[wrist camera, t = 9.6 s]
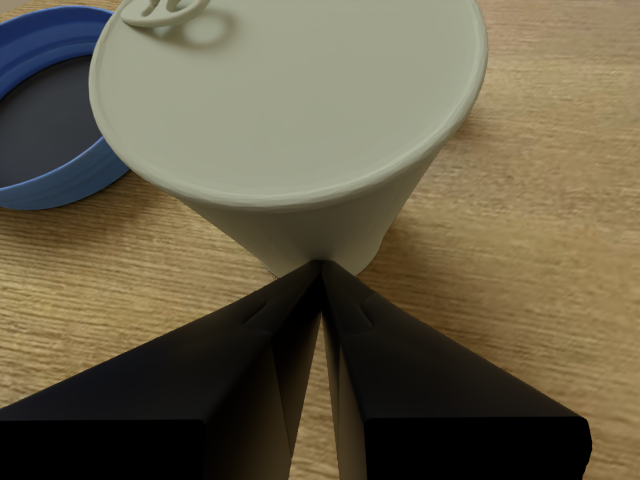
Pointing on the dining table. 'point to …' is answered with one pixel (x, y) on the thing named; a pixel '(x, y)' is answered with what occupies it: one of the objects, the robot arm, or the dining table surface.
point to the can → (288, 112)
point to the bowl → (51, 110)
